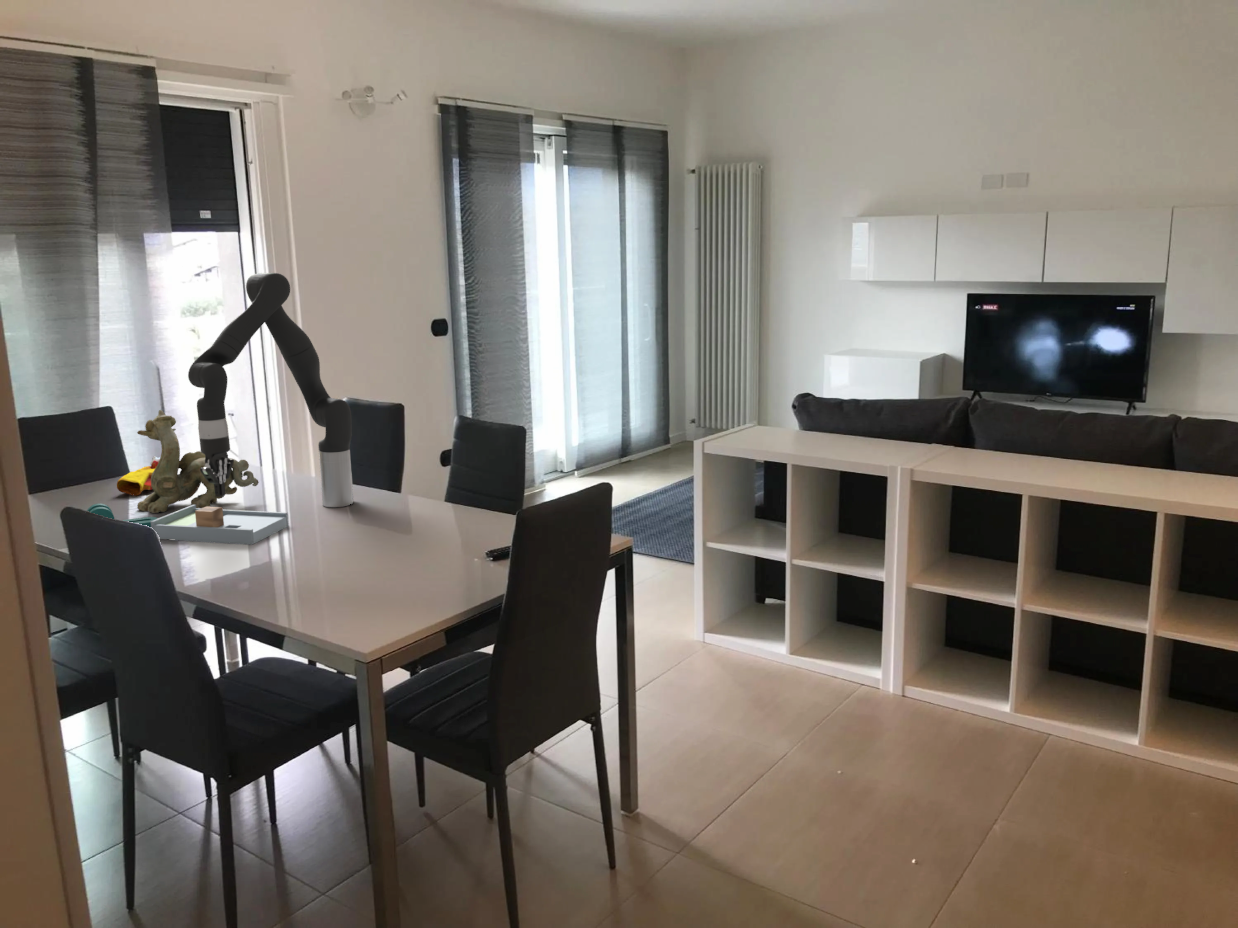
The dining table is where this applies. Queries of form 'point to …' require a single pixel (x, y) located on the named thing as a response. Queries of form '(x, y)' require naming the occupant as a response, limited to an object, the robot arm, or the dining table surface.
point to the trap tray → (235, 529)
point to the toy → (138, 479)
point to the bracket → (106, 512)
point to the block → (209, 517)
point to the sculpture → (183, 471)
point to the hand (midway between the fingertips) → (220, 496)
